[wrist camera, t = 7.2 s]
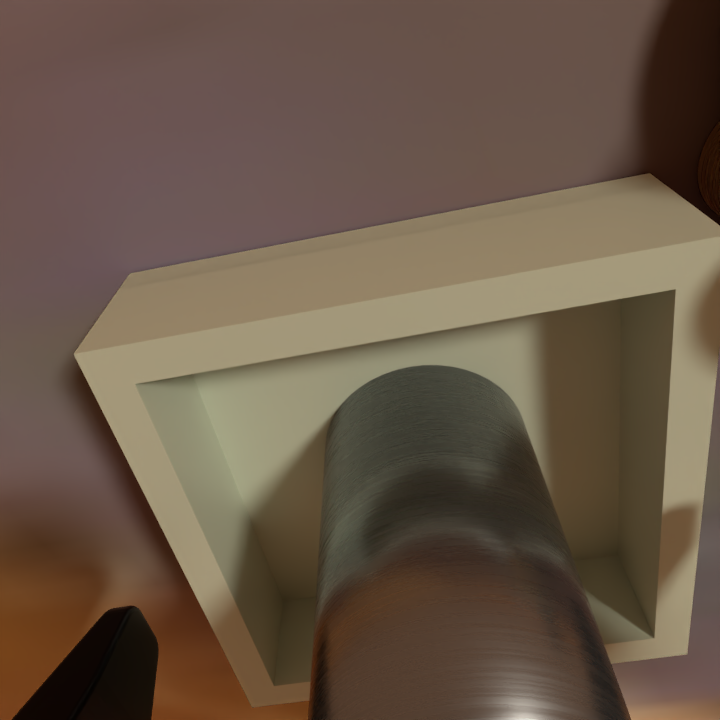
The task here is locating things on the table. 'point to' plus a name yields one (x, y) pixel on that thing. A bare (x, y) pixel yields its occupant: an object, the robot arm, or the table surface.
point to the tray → (415, 348)
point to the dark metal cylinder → (447, 565)
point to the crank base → (710, 170)
